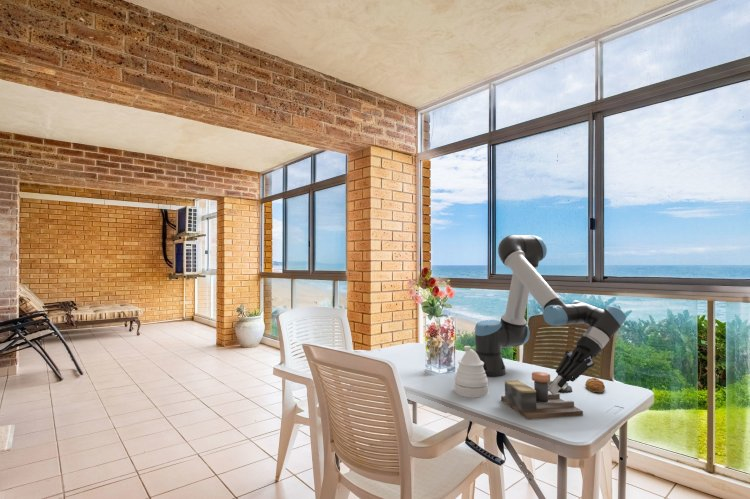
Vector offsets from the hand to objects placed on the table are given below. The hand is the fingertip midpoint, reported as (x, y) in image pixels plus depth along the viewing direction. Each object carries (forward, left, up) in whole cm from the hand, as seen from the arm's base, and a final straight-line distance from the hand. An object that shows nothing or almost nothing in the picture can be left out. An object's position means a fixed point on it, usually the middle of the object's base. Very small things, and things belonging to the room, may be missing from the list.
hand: (551, 392), depth 139 cm
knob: (-1, -3, -4) cm, 5 cm away
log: (-19, +15, -6) cm, 25 cm away
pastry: (-15, +30, -6) cm, 34 cm away
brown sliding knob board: (-1, -4, -5) cm, 7 cm away
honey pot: (-21, -21, -6) cm, 30 cm away
